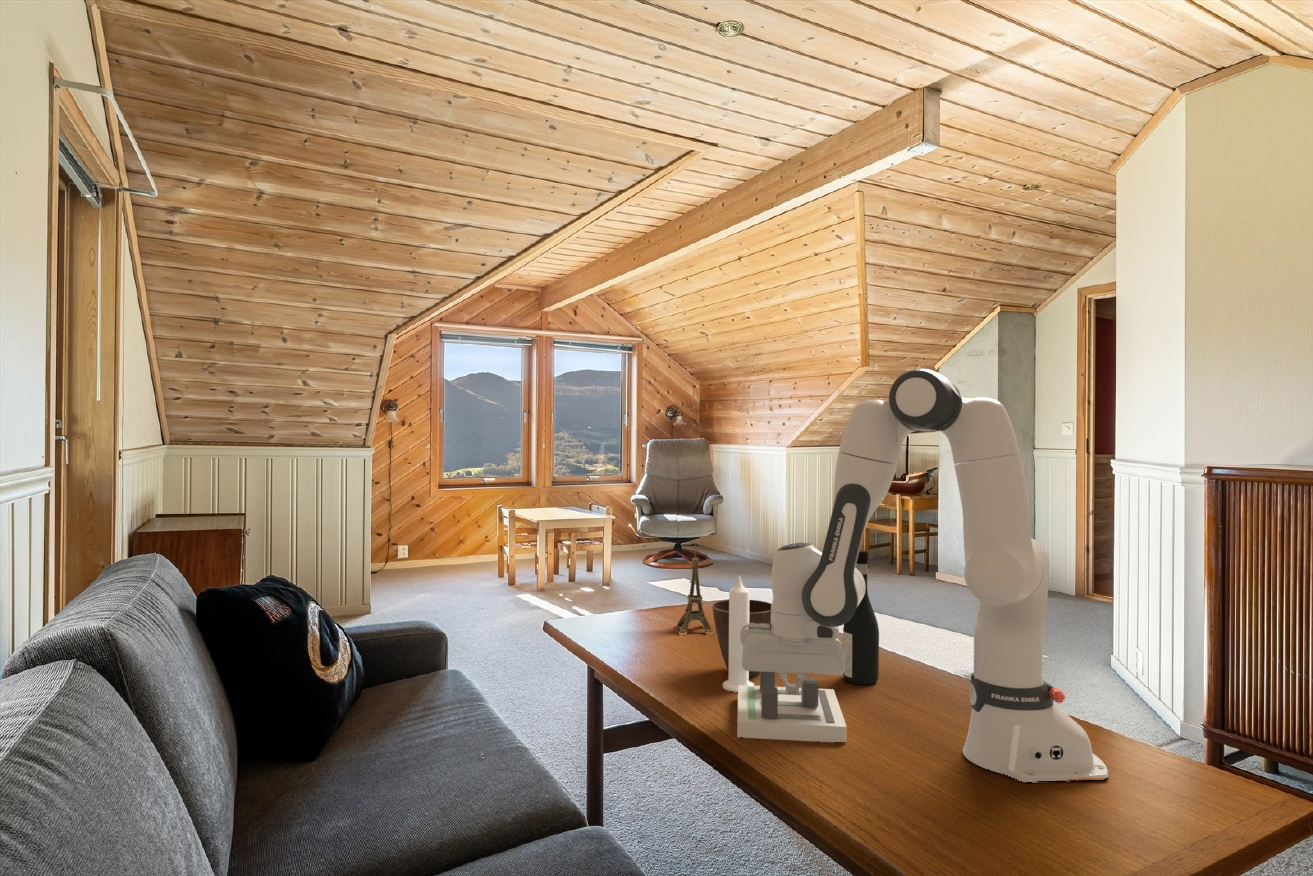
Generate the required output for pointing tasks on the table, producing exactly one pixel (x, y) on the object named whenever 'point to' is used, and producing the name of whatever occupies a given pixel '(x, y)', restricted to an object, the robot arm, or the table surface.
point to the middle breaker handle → (809, 692)
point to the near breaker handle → (769, 702)
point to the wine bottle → (862, 637)
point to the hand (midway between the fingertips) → (792, 694)
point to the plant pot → (757, 615)
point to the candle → (737, 636)
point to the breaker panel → (791, 717)
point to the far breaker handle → (767, 679)
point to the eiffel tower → (690, 613)
